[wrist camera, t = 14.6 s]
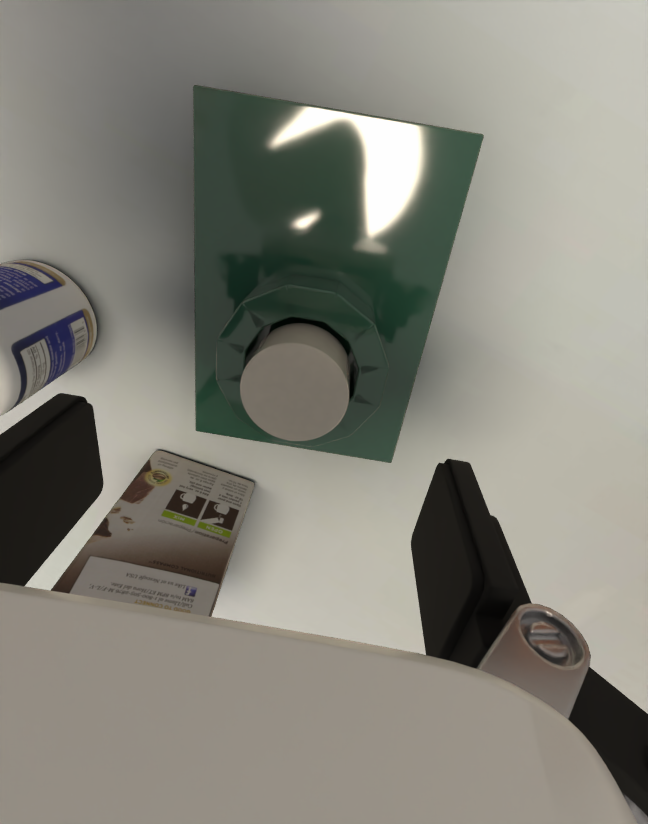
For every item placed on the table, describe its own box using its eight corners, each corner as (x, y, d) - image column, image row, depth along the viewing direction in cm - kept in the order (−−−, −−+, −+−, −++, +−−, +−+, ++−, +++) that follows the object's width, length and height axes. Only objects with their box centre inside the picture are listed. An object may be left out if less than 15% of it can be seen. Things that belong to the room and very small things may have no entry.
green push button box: (211, 94, 16) (169, 70, 12) (471, 138, 16) (502, 128, 12) (207, 411, 23) (180, 454, 19) (388, 441, 23) (394, 489, 19)
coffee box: (152, 445, 24) (-136, 820, 10) (258, 480, 25) (128, 876, 11) (132, 547, 28) (-88, 908, 14) (223, 575, 29) (98, 944, 15)
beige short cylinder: (256, 314, 16) (242, 334, 14) (358, 331, 16) (358, 353, 14) (250, 404, 18) (237, 432, 16) (341, 419, 18) (339, 449, 16)
